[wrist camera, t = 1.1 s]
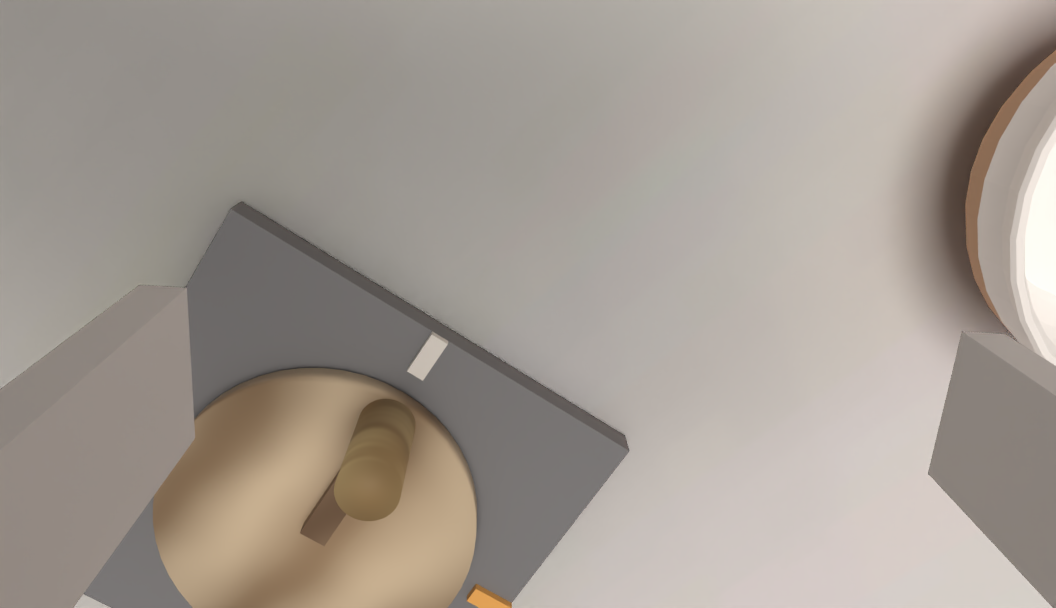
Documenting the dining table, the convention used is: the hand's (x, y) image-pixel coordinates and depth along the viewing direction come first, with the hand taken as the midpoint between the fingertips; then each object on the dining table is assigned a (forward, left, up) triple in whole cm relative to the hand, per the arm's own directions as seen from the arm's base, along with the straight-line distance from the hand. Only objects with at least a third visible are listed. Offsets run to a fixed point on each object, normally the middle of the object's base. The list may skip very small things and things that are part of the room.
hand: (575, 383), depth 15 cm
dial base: (+1, -18, -23) cm, 29 cm away
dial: (+1, -18, -21) cm, 28 cm away
